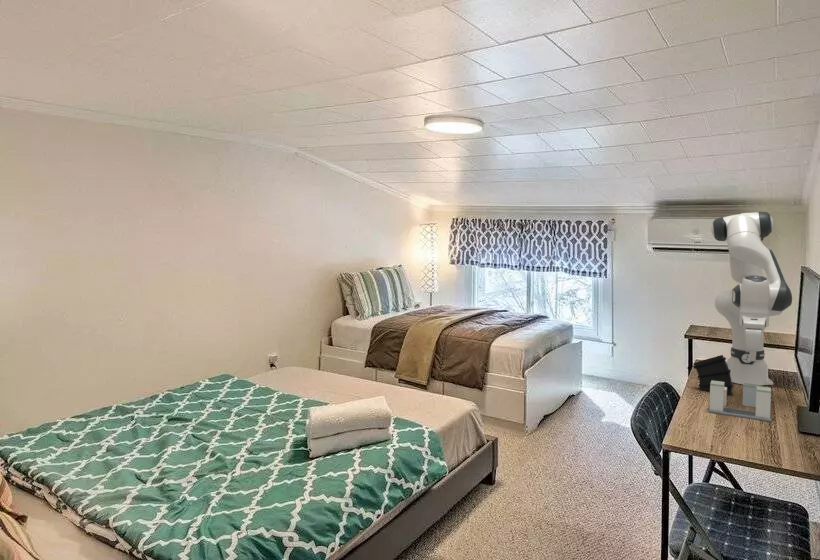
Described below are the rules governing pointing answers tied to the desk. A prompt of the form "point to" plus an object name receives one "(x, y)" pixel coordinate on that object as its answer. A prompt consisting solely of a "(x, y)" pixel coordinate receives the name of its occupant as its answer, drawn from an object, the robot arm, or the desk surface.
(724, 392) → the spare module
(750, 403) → the block
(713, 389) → the block
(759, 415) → the block
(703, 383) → the black ridged block
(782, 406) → the desk surface
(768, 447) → the desk surface
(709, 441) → the desk surface
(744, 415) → the rail plate
